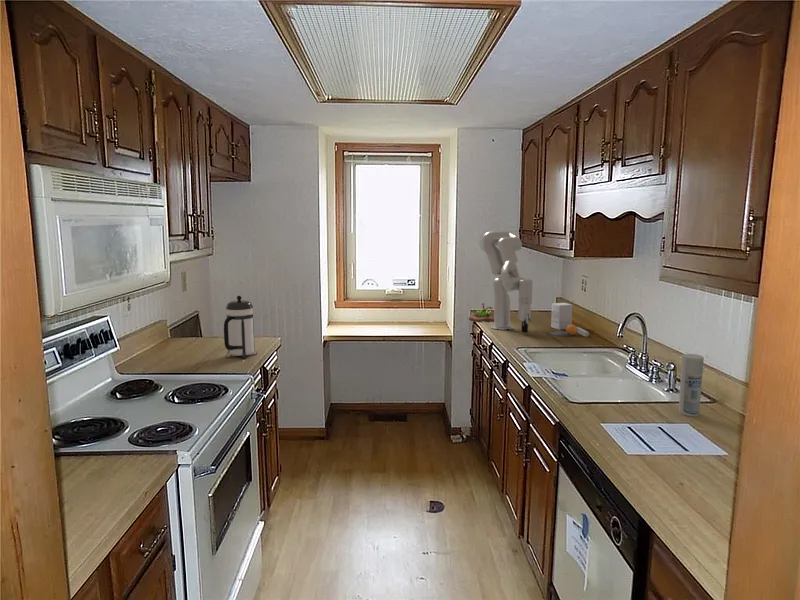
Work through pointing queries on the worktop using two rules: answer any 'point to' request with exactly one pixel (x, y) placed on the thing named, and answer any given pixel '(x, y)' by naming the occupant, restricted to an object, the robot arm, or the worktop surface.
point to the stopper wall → (582, 332)
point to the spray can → (690, 384)
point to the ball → (571, 329)
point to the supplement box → (561, 315)
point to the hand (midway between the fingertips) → (524, 332)
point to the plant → (482, 315)
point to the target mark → (560, 334)
